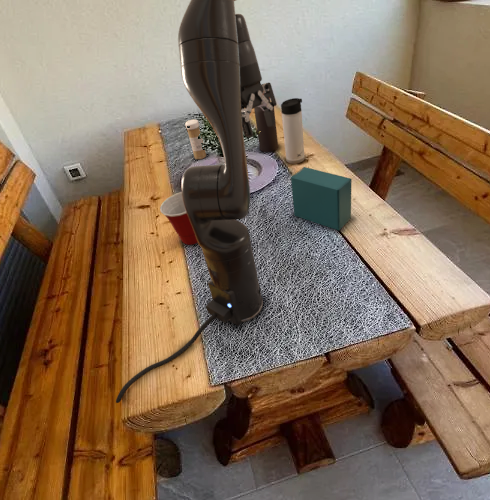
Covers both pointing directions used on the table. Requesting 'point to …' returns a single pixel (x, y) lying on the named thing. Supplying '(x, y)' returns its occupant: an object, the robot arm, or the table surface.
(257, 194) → the table surface
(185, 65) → the robot arm
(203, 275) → the table surface
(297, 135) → the travel mug
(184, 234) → the plastic cup
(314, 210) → the matte teal cuboid
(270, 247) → the table surface
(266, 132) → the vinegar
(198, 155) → the sprinkles bottle
